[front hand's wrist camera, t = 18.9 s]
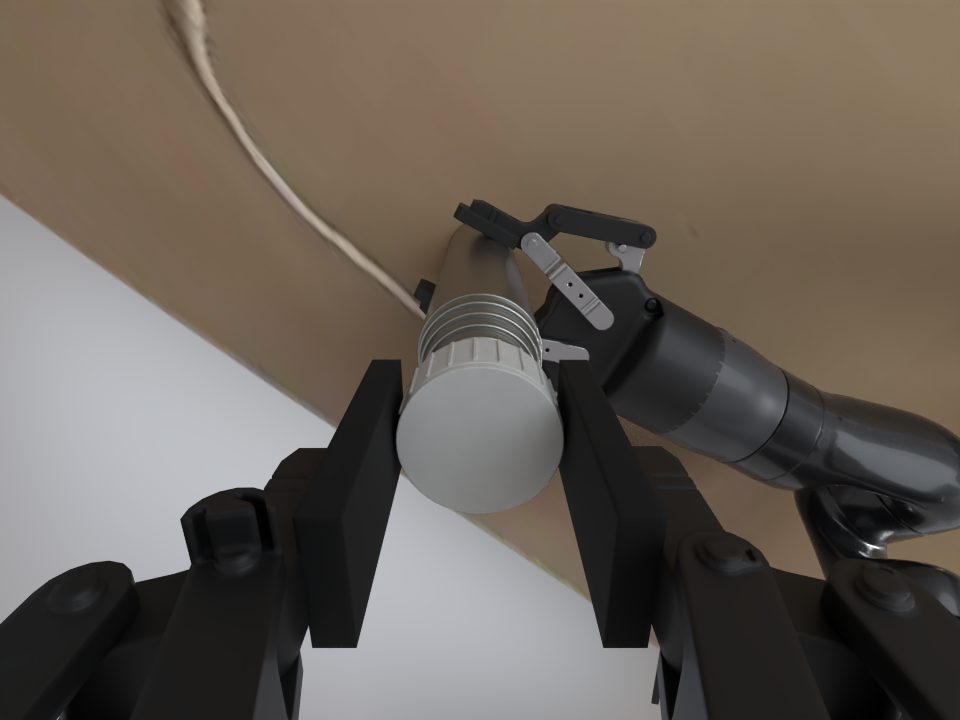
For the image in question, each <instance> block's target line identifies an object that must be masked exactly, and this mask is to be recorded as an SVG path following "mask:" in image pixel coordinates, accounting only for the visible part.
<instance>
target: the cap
mask: <svg viewBox="0 0 960 720" xmlns="http://www.w3.org/2000/svg"><path fill="white" fill-rule="evenodd" d="M558 406H559V405H558V402H557V398H556V395H555V392H554V389H553V385H552V382H551V380H550V379H548V378H547V376H546V375H545V373H544V371H543V370H542V368H541V366H540V363H539V362H538V361H537V362H536V361H535V360H534V359H533V358H532V357H531V356H529V355H528V354H527V353H525V352H524V351H523V350H522V348H520V347H519V348H517V347H515V346H513V345H511V344H508V343H505V342H502V341H501V340H500V339H497V340H493V339H485V338H479V339H477V337H474V339H467V340H462V341H458V342H454V341H453V342H451V343H450V344H449V345H447V346H445V347H443V348H441V349H439V350H437V351H436V352H435V353H433V352H432V353H430V356H429V357H428V358H427V359H426V360H425V361H424V362H423V363H422V364H421V366H420V367H419V368H417V367H416V369H415V372H414V375H413V378H412V380H411V383H410V385H409V387H408V386H407V387H406V390H405V393H404V397H403V400H402V403H401V406H400V409H399V413H398V414H401V415H400V418H399V422H398V426H397V430H396V449H397V454H398V458H399V461H400V464H401V466H402V469H403V470H404V472H405V474H406V476H407V477H408V479H409V480H410V481H411V483H412V484H413V485H414V486H415V487H416V488H417V489H418V490H419V491H420V492H421V493H422V494H424V495H425V496H426V497H427V498H429V499H431V500H432V501H434V502H435V503H437V504H440V505H442V506H444V507H446V508H449V509H452V510H455V511H460V512H465V513H474V514H486V513H495V512H500V511H504V510H508V509H511V508H513V507H516V506H518V505H520V504H522V503H524V502H526V501H528V500H529V499H531V498H532V497H534V496H535V495H536V494H538V493H539V492H540V491H541V490H542V489H543V488H544V487H545V486H546V485H547V484H548V482H549V481H550V480H551V478H552V477H553V476H554V474H555V472H556V470H557V468H558V466H559V463H560V460H561V458H562V453H563V448H564V434H563V428H564V424H563V421H562V418H561V414H560V411H559V408H558Z"/></svg>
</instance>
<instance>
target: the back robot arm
mask: <svg viewBox="0 0 960 720" xmlns="http://www.w3.org/2000/svg"><path fill="white" fill-rule="evenodd" d="M454 217H455V218H456V219H458V220H459V221H461V222H463V223H465V224H466V225H468V226H470V227H472V228H474V229H476V230H477V231H479V232H481V233H483V234H485V235H487V236H488V237H490V238H492V239H494V240H496V241H498V242H500V243H501V244H503V245H505V246H507V247H509V248H510V249H512V250H514V248H515V247H517V248H519V249H521V250H523V251H524V252H525V253H526V254H527V255H528V257H529V258H530V259H531V260H532V261H533V262H534V263H535V264H536V265H537V266H538V267H539V268H540V269H541V270H542V271H543V272H544V273H545V274H546V276H547V277H548V278H549V279H550V280H551V281H552V282H553V283H552V285H551V287H550V288H549V290H548V293H547V297H546V300H545V303H544V304H543V305H542V306H541V307H540V308H539V309H538V310H537V311H536V312H535V314H534V318H535V321H536V324H537V327H538V330H539V333H540V336H541V341H542V349H543V353H542V358H543V359H542V370H543V371H544V373H545V375H546V376H547V378H548V379H550V380H551V382H552V385H553V389H554V392H555V395H556V396H557V388H558V371H559V360H588V362H589V364H590V366H591V368H592V369H593V371H594V373H595V375H596V377H597V379H598V381H599V383H600V385H601V387H602V389H603V391H604V393H605V395H606V397H607V399H608V401H609V403H610V405H611V407H612V409H613V410H614V412H615V414H617V415H619V416H621V417H623V418H625V419H627V420H629V421H631V422H633V423H635V424H636V425H638V426H640V427H642V428H644V429H646V430H648V431H650V432H652V433H654V434H656V435H658V436H660V437H662V438H664V439H666V440H668V441H670V442H672V443H674V444H676V445H678V446H680V447H682V448H685V449H687V450H689V451H692V452H695V453H698V454H701V455H704V456H707V457H710V458H712V459H715V460H717V461H719V462H721V463H723V464H725V465H727V466H729V467H731V468H733V469H735V470H737V471H739V472H740V473H742V474H744V475H746V476H748V477H750V478H753V479H755V480H757V481H759V482H761V483H763V484H766V485H768V486H771V487H773V488H777V489H782V490H789V491H794V498H795V503H796V506H797V509H798V512H799V515H800V517H801V520H802V522H803V524H804V527H805V529H806V531H807V533H808V536H809V538H810V541H811V543H812V546H813V548H814V551H815V553H816V556H817V558H818V561H819V564H820V566H821V569H822V572H823V574H824V577H825V579H826V578H827V575H828V572H829V568H830V567H831V566H833V565H834V564H835V563H836V562H837V561H841V560H846V559H860V560H869V561H873V562H876V563H879V564H883V565H886V566H889V567H891V568H893V569H895V570H897V571H899V572H901V573H903V574H905V575H907V576H909V577H911V578H912V579H914V580H915V581H916V582H917V583H919V584H920V585H921V586H923V587H924V588H925V589H927V590H928V591H929V592H930V593H931V594H932V595H933V596H934V597H935V598H936V599H937V600H939V601H940V602H941V603H942V604H943V605H944V606H945V607H946V608H947V609H948V610H949V611H950V612H951V613H952V614H953V615H954V616H955V617H956V618H957V619H958V620H960V576H958V575H957V574H955V573H953V572H951V571H949V570H946V569H944V568H941V567H938V566H935V565H931V564H927V563H923V562H916V561H909V560H900V559H888V557H887V544H890V543H895V542H899V541H904V540H909V539H913V538H918V537H923V536H927V535H933V534H938V533H942V532H947V531H951V530H956V529H959V528H960V438H959V437H958V436H957V435H955V434H954V433H953V432H951V431H950V430H948V429H947V428H945V427H943V426H942V425H940V424H938V423H936V422H934V421H932V420H929V419H927V418H925V417H923V416H920V415H917V414H915V413H911V412H908V411H905V410H901V409H897V408H893V407H889V406H885V405H881V404H877V403H873V402H869V401H864V400H860V399H857V398H853V397H849V396H843V395H838V394H832V393H827V392H823V391H820V390H819V389H817V388H815V387H814V386H812V385H810V384H809V383H807V382H805V381H803V380H802V379H800V378H798V377H796V376H794V375H793V374H791V373H789V372H787V371H785V370H784V369H782V368H780V367H778V366H776V365H775V364H773V363H771V362H770V361H769V360H767V359H766V358H765V357H763V356H762V355H761V354H760V353H758V352H757V351H756V350H754V349H753V348H752V347H750V346H749V345H747V344H745V343H744V342H742V341H740V340H738V339H737V338H735V337H733V336H732V335H731V334H730V333H729V332H728V331H726V330H724V329H722V328H719V327H715V326H713V325H712V324H710V323H708V322H706V321H704V320H703V319H701V318H699V317H697V316H695V315H694V314H692V313H690V312H688V311H686V310H685V309H683V308H681V307H679V306H677V305H676V304H674V303H672V302H670V301H669V300H667V299H665V298H663V297H661V296H660V295H658V294H656V293H654V292H653V291H651V290H649V289H648V288H647V286H646V285H645V283H644V281H643V279H642V278H641V276H640V275H638V271H639V268H640V265H641V262H642V258H643V255H644V252H645V249H647V248H649V247H651V246H652V245H653V244H654V243H655V241H656V232H655V230H654V229H653V228H651V227H649V226H647V225H645V224H643V223H640V222H638V221H635V220H630V219H625V218H620V217H616V216H611V215H606V214H601V213H597V212H592V211H587V210H582V209H578V208H573V207H568V206H563V205H559V204H551V205H549V206H547V207H546V208H545V210H544V212H543V213H541V214H540V215H539V216H538V217H537V218H536V219H535V220H533V221H531V222H521V221H519V220H517V219H515V218H514V217H512V216H510V215H508V214H507V213H505V212H503V211H501V210H499V209H498V208H496V207H494V206H492V205H490V204H489V203H487V202H485V201H483V200H473V202H472V204H471V206H470V207H469V206H467V205H465V204H463V203H461V202H460V204H459V206H458V208H457V210H456V212H455V214H454ZM559 232H564V233H569V234H573V235H578V236H583V237H588V238H593V239H598V240H602V241H606V242H605V247H606V249H607V251H608V252H609V253H610V254H612V255H613V256H615V257H617V258H618V260H619V267H613V268H605V269H598V270H590V271H583V272H575V271H574V270H573V268H572V267H571V266H570V265H569V264H568V263H567V262H566V261H565V260H564V259H563V258H562V257H561V256H560V255H559V254H558V253H557V252H556V251H555V250H554V248H553V247H552V246H551V245H550V244H549V243H548V242H549V241H550V240H551V239H552V238H553V237H554V236H556V235H557V234H558V233H559ZM435 287H436V285H435V284H433V283H431V282H429V281H427V280H424V279H421V281H420V283H419V285H418V287H417V289H416V291H415V293H414V297H415V298H417V299H418V300H420V301H421V304H420V307H419V308H420V309H421V310H422V311H423V312H424V313H425V314H426V315H427V312H428V309H429V306H430V303H431V300H432V296H433V293H434V290H435ZM901 716H902V717H903V719H904V720H906V718H905V717H904V716H903V714H902V715H901Z"/></svg>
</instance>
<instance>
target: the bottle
mask: <svg viewBox="0 0 960 720" xmlns="http://www.w3.org/2000/svg"><path fill="white" fill-rule="evenodd" d="M474 337H477V339H479V338H485V339H493V340H497V339H500V340H501V341H502V342H505V343H508V344H511V345H513V346H515V347H517V348H519V347H520V348H522V350H523V351H524V352H525V353H527V354H528V355H529V356H531V357H532V358H533V359H534V360H535V361H536V362H537V361H538V362H539V363H540V366H541V368H542V359H543V358H542V353H543V349H542V341H541V336H540V333H539V330H538V327H537V324H536V321H535V318H534V315H533V311H532V308H531V305H530V302H529V299H528V296H527V293H526V290H525V287H524V284H523V281H522V277H521V274H520V271H519V268H518V265H517V262H516V259H515V256H514V253H513V250H512V249H510V248H509V247H507V246H505V245H503V244H501V243H500V242H498V241H496V240H494V239H492V238H490V237H488V236H487V235H485V234H483V233H481V232H479V231H477V230H476V229H474V228H472V227H470V226H468V225H466V224H464V225H462V226H461V227H460V228H459V229H458V230H457V231H456V232H455V233H454V235H453V237H452V239H451V241H450V244H449V248H448V251H447V254H446V257H445V260H444V263H443V266H442V269H441V272H440V275H439V278H438V281H437V284H436V287H435V290H434V293H433V296H432V300H431V303H430V306H429V309H428V312H427V315H426V318H425V321H424V324H423V327H422V330H421V333H420V337H419V341H418V349H417V350H418V368H419V367H420V366H421V364H422V363H423V362H424V361H425V360H426V359H427V358H428V357H429V356H430V353H432V352H433V353H435V352H436V351H437V350H439V349H441V348H443V347H445V346H447V345H449V344H450V343H451V342H453V341H454V342H458V341H462V340H467V339H474Z"/></svg>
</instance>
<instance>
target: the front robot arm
mask: <svg viewBox="0 0 960 720" xmlns="http://www.w3.org/2000/svg"><path fill="white" fill-rule="evenodd" d="M402 400H403V389H402V372H401V360H372V362H371V364H370V366H369V367H368V369H367V371H366V373H365V375H364V377H363V379H362V381H361V383H360V385H359V387H358V389H357V391H356V393H355V395H354V397H353V399H352V401H351V403H350V405H349V407H348V408H347V410H346V412H345V414H344V416H343V418H342V420H341V422H340V424H339V426H338V428H337V430H336V432H335V434H334V436H333V438H332V440H331V442H330V444H329V446H328V448H299V449H297V450H296V451H295V452H293V453H292V454H291V455H289V456H288V457H286V458H285V459H284V460H282V461H281V463H280V464H279V466H278V467H277V469H276V470H275V472H274V474H273V475H272V479H270V480H269V481H268V483H267V485H266V486H265V488H264V490H261V489H257V488H234V489H229V490H225V491H220V492H218V493H215V494H213V495H210V496H208V497H206V498H203V499H202V500H200V501H199V502H197V503H196V504H194V505H193V506H192V507H190V508H189V509H188V510H187V511H186V513H185V514H184V515H183V516H182V518H181V519H180V521H181V525H182V529H183V532H184V537H185V540H186V544H187V548H188V552H189V556H190V560H191V566H190V569H189V570H185V571H182V572H179V573H175V574H171V575H167V576H163V577H158V578H154V579H149V580H145V581H140V582H136V583H135V581H134V578H133V575H132V572H131V570H130V569H129V568H128V567H127V566H126V565H124V564H123V563H118V562H113V561H103V562H94V563H89V564H86V565H82V566H79V567H76V568H73V569H70V570H68V571H66V572H64V573H62V574H61V575H58V576H56V577H55V578H53V579H51V580H49V581H48V582H47V583H45V584H44V585H43V586H41V587H40V588H39V589H37V590H36V591H35V592H34V593H32V594H31V595H30V596H29V597H28V598H27V599H26V600H25V601H24V602H23V603H22V604H21V605H20V606H19V607H18V608H17V609H16V610H15V611H14V612H13V613H11V614H10V615H9V616H8V617H7V618H6V619H5V620H4V621H3V622H2V623H1V624H0V720H57V718H58V717H60V718H59V719H58V720H298V717H299V707H300V697H301V687H302V677H303V667H302V659H301V654H300V648H301V645H302V642H303V640H304V637H305V634H306V631H307V629H308V626H309V630H310V636H311V642H312V648H356V647H357V644H358V640H359V636H360V632H361V628H362V624H363V620H364V616H365V612H366V608H367V603H368V600H369V596H370V592H371V587H372V583H373V579H374V575H375V571H376V567H377V563H378V559H379V555H380V551H381V547H382V543H383V539H384V535H385V531H386V527H387V523H388V519H389V515H390V511H391V507H392V503H393V499H394V495H395V491H396V486H397V483H398V479H399V475H400V471H401V464H400V461H399V458H398V454H397V449H396V430H397V426H398V422H399V418H400V415H401V414H398V413H399V409H400V406H401V403H402ZM557 402H558V405H559V406H558V408H559V411H560V414H561V418H562V421H563V424H564V428H563V434H564V448H563V453H562V458H561V460H560V463H559V466H558V467H559V471H560V475H561V479H562V483H563V487H564V491H565V495H566V499H567V503H568V507H569V511H570V515H571V519H572V523H573V527H574V531H575V535H576V539H577V543H578V547H579V551H580V555H581V559H582V563H583V567H584V571H585V575H586V579H587V583H588V588H589V592H590V596H591V600H592V604H593V608H594V612H595V616H596V620H597V624H598V628H599V632H600V636H601V640H602V644H603V648H648V642H649V636H650V630H651V623H652V626H653V629H654V632H655V634H656V637H657V640H658V643H659V645H660V654H659V659H658V665H657V671H656V677H655V683H654V689H653V695H652V703H653V704H658V703H659V698H660V706H661V716H662V720H904V719H903V717H902V716H901V715H902V714H903V716H904V717H905V718H906V720H960V620H958V619H957V618H956V617H955V616H954V615H953V614H952V613H951V612H950V611H949V610H948V609H947V608H946V607H945V606H944V605H943V604H942V603H941V602H940V601H939V600H937V599H936V598H935V597H934V596H933V595H932V594H931V593H930V592H929V591H928V590H927V589H925V588H924V587H923V586H921V585H920V584H919V583H917V582H916V581H915V580H914V579H912V578H911V577H909V576H907V575H905V574H903V573H901V572H899V571H897V570H895V569H893V568H891V567H889V566H886V565H883V564H879V563H876V562H873V561H869V560H860V559H846V560H841V561H837V562H836V563H835V564H834V565H833V566H831V567H830V568H829V572H828V575H827V578H826V581H825V580H821V579H816V578H812V577H808V576H803V575H799V574H794V573H790V572H786V571H782V570H779V569H775V568H772V567H770V565H769V563H768V561H767V560H766V559H765V557H764V556H763V554H762V553H761V551H760V550H758V549H757V548H756V547H755V546H753V545H752V544H751V543H750V542H748V541H747V540H745V539H742V538H740V537H738V536H736V535H734V534H732V533H728V532H725V531H724V529H723V527H722V526H721V524H720V523H719V521H718V520H717V518H716V517H715V515H714V513H713V512H712V510H711V509H710V507H709V506H708V504H707V503H706V501H705V499H704V498H703V496H702V495H701V493H700V492H699V490H696V485H695V484H694V482H693V481H692V479H691V478H690V477H688V473H687V471H686V470H685V468H684V467H683V465H682V464H681V462H680V461H679V459H678V458H676V457H675V456H673V455H672V454H671V453H669V452H668V451H667V450H665V449H664V448H662V447H661V446H631V444H630V442H629V440H628V438H627V436H626V434H625V432H624V430H623V428H622V426H621V424H620V422H619V420H618V418H617V416H616V414H615V412H614V410H613V409H612V407H611V405H610V403H609V401H608V399H607V397H606V395H605V393H604V391H603V389H602V387H601V385H600V383H599V381H598V379H597V377H596V375H595V373H594V371H593V369H592V368H591V366H590V364H589V362H588V360H559V371H558V388H557Z"/></svg>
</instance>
